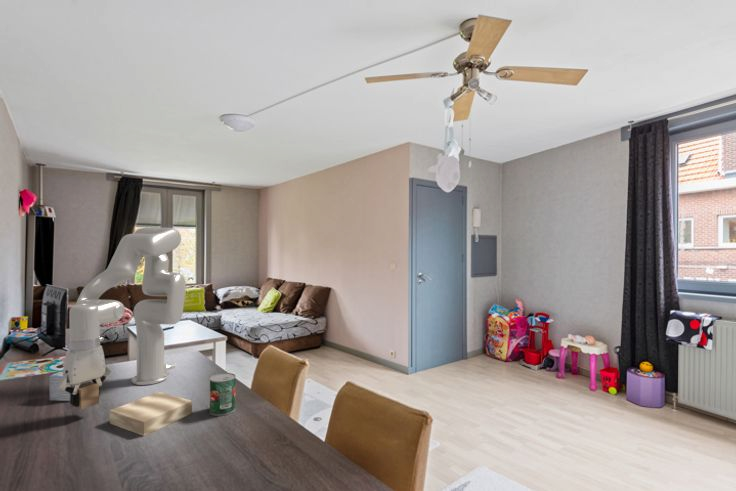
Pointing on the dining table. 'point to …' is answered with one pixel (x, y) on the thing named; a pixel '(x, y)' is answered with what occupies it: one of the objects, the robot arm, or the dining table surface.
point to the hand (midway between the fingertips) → (85, 401)
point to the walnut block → (88, 395)
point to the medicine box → (56, 392)
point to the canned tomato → (222, 394)
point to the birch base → (150, 413)
